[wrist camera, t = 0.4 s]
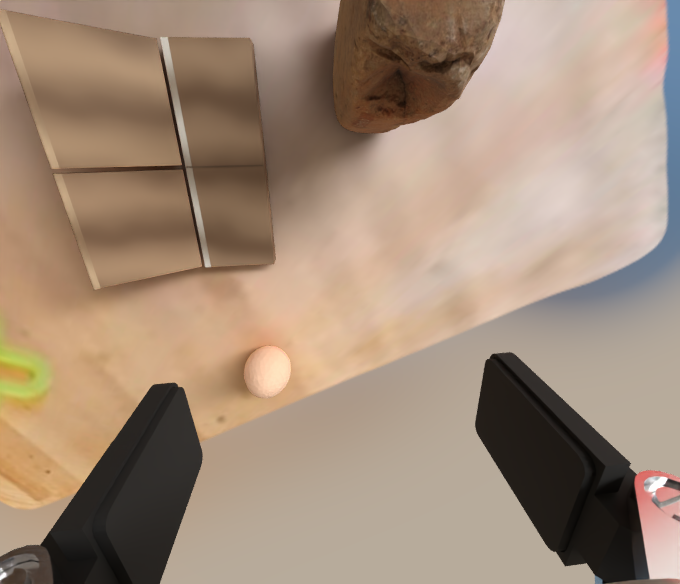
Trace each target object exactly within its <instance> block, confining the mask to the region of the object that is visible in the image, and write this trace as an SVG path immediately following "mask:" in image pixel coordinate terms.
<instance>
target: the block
mask: <svg viewBox="0 0 680 584" xmlns="http://www.w3.org/2000/svg"><path fill="white" fill-rule="evenodd" d="M504 2H505V0H341V1H340V7H339V14H338V21H337V28H336V35H335V47H334V65H333V94H334V108H335V113H336V116H337V119H338V121H339V123H340V124H341V126H343V127H344V128H345V129H347V130H350V131H354V132H359V133H384V132H388V131H390V130H393V129H396V128H398V127H399V126H400V125H405V124H410V123H414V122H417V121H419V120H422V119H426V118H428V117H431V116H432V115H434V114H437V113H440V112H442V111H444V110H446V109H447V108H448V107H450V106H451V105H452V104H453V103H454V102H455V100H457V99H459V98H460V96H461V94H462V92H463V90H464V88H465V87H466V85H467V83H468V82H469V80H470V79H471V77H472V75H473V74H474V72H475V71H476V70H477V69H478V68H479V66H480V64H481V63H482V61H483V60H484V58H485V56H486V55H487V53H488V51H489V49H490V47H491V45H492V42H493V39H494V36H495V33H496V30H497V28H498V25H499V22H500V20H501V16H502V11H503V6H504Z"/></svg>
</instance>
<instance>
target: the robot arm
mask: <svg viewBox="0 0 680 584" xmlns="http://www.w3.org/2000/svg"><path fill="white" fill-rule="evenodd" d="M475 427H476V431H477V434H478V436H479V437H480V439H481V440H482V442H483V444H484V445H485V447H486V449H487V450H488V452H489V453H490V455H491V457H492V458H493V460H494V461H495V463H496V465H497V466H498V468H499V469H500V471H501V473H502V474H503V476H504V478H505V479H506V481H507V482H508V484H509V486H510V487H511V489H512V490H513V492H514V494H515V495H516V497H517V499H518V500H519V502H520V503H521V505H522V507H523V508H524V510H525V512H526V513H527V515H528V516H529V518H530V520H531V521H532V523H533V524H534V526H535V528H536V529H537V531H538V533H539V534H540V536H541V537H542V539H543V541H544V542H545V544H546V545H547V546H548V548H549V549H550V550H552V551H553V552H557V554H558V555H559V557H560V559H561V560H562V562H563V564H564V565H565V566H571V565H577V564H584V563H587V564H588V566H589V567H590V569H591V570H592V571H593V573H594V574H595V584H680V478H679V477H677V476H674V475H672V474H668V473H665V472H661V471H653V470H646V471H642V472H639V473H638V474H636V473H635V472H634V471H633V470H631V469H630V468H629V466H630V464H631V463H630V462H629V461H628V460H627V459H625V457H624V456H623V455H621V454H620V453H619V452H618V451H617V450H616V449H615V448H614V447H613V446H612V445H611V444H610V443H609V442H608V441H607V440H605V439H604V438H603V437H602V436H601V435H600V434H599V433H598V432H597V431H596V430H595V429H594V428H593V427H592V426H591V425H589V424H588V423H587V422H586V421H585V420H584V419H583V418H582V417H581V416H580V415H579V414H578V413H577V412H575V411H574V410H573V409H572V408H571V407H570V406H569V405H568V404H567V403H566V402H565V401H564V400H563V399H562V398H561V397H559V395H557V394H556V393H555V392H554V391H553V390H552V389H551V388H550V387H549V386H548V385H547V384H546V383H545V382H544V381H542V380H541V379H540V378H539V377H538V376H537V375H536V374H535V373H534V372H533V371H532V370H531V369H530V368H529V367H528V366H527V365H525V364H524V363H523V362H522V361H521V360H520V359H519V358H518V357H517V356H516V355H515V354H513V353H510V352H509V353H498V354H492V355H491V357H490V359H487V360H486V362H485V368H484V373H483V380H482V386H481V392H480V398H479V403H478V410H477V415H476V422H475ZM201 464H202V449H201V446H200V443H199V439H198V436H197V432H196V429H195V425H194V422H193V418H192V415H191V412H190V408H189V405H188V401H187V398H186V394H185V391H184V389H183V388H182V387H178V385H177V384H176V383H165V384H155V385H153V386H152V387H151V388H150V389H149V391H148V392H147V394H146V395H145V396H144V398H143V399H142V401H141V402H140V404H139V405H138V407H137V408H136V409H135V411H134V412H133V414H132V415H131V417H130V418H129V419H128V421H127V422H126V424H125V425H124V427H123V428H122V430H121V431H120V432H119V434H118V435H117V437H116V438H115V440H114V441H113V442H112V443H111V444H110V446H109V447H108V449H107V450H106V452H105V453H104V455H103V456H102V457H101V459H100V460H99V462H98V463H97V465H96V466H95V467H94V469H93V470H92V472H91V473H90V475H89V476H88V477H87V479H86V480H85V482H84V483H83V485H82V486H81V488H80V489H79V490H78V492H77V493H76V495H75V496H74V498H73V499H72V500H71V502H70V503H69V505H68V506H67V508H66V509H65V511H64V512H63V513H62V515H61V516H60V518H59V519H58V520H57V522H56V523H55V525H54V526H53V528H52V529H51V531H50V532H49V533H48V535H47V536H46V538H45V539H44V541H43V542H42V543H41V545H27V546H24V547H21V548H17V549H14V550H12V551H10V552H8V553H6V554H4V555H2V556H1V557H0V584H160V581H161V578H162V575H163V572H164V570H165V567H166V564H167V561H168V558H169V555H170V553H171V550H172V547H173V544H174V541H175V538H176V536H177V533H178V530H179V527H180V524H181V521H182V519H183V516H184V513H185V510H186V507H187V504H188V502H189V499H190V496H191V493H192V490H193V487H194V484H195V481H196V478H197V476H198V473H199V470H200V467H201Z"/></svg>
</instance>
